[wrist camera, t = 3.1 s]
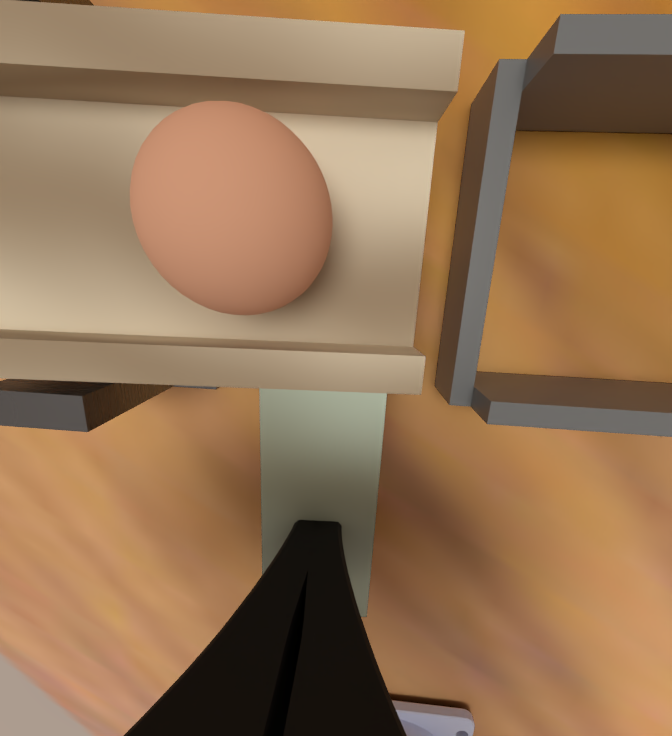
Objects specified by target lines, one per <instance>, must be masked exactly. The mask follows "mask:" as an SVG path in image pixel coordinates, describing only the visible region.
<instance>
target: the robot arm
mask: <svg viewBox="0 0 672 736" xmlns="http://www.w3.org/2000/svg"><path fill="white" fill-rule="evenodd" d="M474 728H475V724H474V720H473V716H472V714H471V713H470V712H469V711H468V710H466V709H462V708H454V707H446V706H437V705H429V704H420V703H412V702H403V701H395V700H391V698H390V695H389V693H388V690H387V687H386V685H385V682H384V680H383V677H382V675H381V672H380V670H379V667H378V665H377V662H376V659H375V657H374V654H373V651H372V648H371V645H370V643H369V640H368V637H367V634H366V631H365V628H364V625H363V622H362V619H361V616H360V612H359V609H358V606H357V603H356V599H355V596H354V592H353V588H352V585H351V581H350V577H349V573H348V569H347V564H346V559H345V554H344V549H343V542H342V526H341V524H340V523H339V522H335V521H315V520H298V521H297V522H295V523H294V525H293V527H292V529H291V531H290V533H289V535H288V536H287V538H286V540H285V542H284V543H283V545H282V546H281V548H280V550H279V551H278V553H277V554H276V556H275V557H274V559H273V561H272V562H271V563H270V565H269V566H268V568H267V569H266V571H265V572H264V574H263V575H262V576H261V578H260V579H259V581H258V582H257V584H256V585H255V586H254V588H253V589H252V591H251V592H250V593H249V595H248V596H247V597H246V598H245V600H244V601H243V602H242V604H241V605H240V606H239V608H238V609H237V610H236V611H235V613H234V614H233V615H232V617H231V618H230V619H229V621H228V622H227V623H226V624H225V626H224V627H223V628H222V629H221V630H220V632H219V633H218V634H217V635H216V636H215V638H214V639H213V640H212V641H211V642H210V644H209V645H208V646H207V647H206V648H205V649H204V651H203V652H202V653H201V654H200V655H199V656H198V657H197V658H196V660H195V661H194V662H193V663H192V664H191V665H190V666H189V668H188V669H187V670H186V671H185V672H184V673H183V674H182V675H181V676H180V677H179V679H178V680H177V681H176V682H175V683H174V684H173V685H172V686H171V687H170V688H169V689H168V690H167V691H166V692H165V693H164V694H163V696H162V697H161V698H160V699H159V700H158V701H157V702H156V703H155V704H154V705H153V706H152V707H151V708H150V709H149V710H148V711H147V712H146V713H145V714H144V716H143V717H142V718H141V719H140V720H139V721H138V722H137V723H136V724H135V725H134V726H133V727H132V728H131V729H130V730H129V731H128V732H127V733H126V734H125V735H124V736H473V732H474Z"/></svg>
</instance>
